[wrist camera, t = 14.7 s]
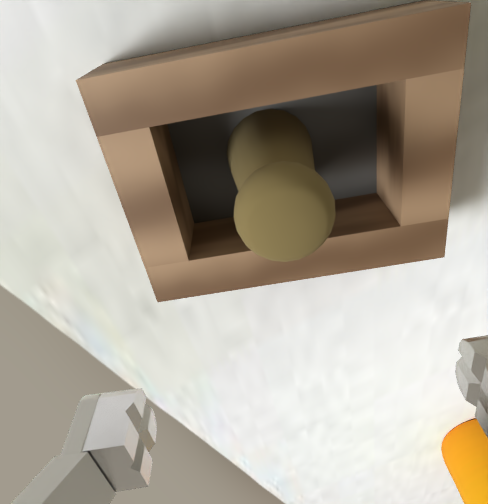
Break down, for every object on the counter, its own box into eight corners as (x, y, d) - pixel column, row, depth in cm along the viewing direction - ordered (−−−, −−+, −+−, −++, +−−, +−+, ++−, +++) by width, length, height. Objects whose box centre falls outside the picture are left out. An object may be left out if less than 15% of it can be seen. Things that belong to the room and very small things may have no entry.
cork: (240, 97, 27) (246, 153, 18) (325, 123, 28) (373, 189, 19) (216, 180, 30) (211, 265, 21) (294, 201, 31) (322, 291, 22)
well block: (103, 63, 26) (75, 80, 21) (425, 0, 25) (470, 2, 20) (167, 259, 34) (157, 302, 29) (413, 219, 33) (444, 257, 28)
